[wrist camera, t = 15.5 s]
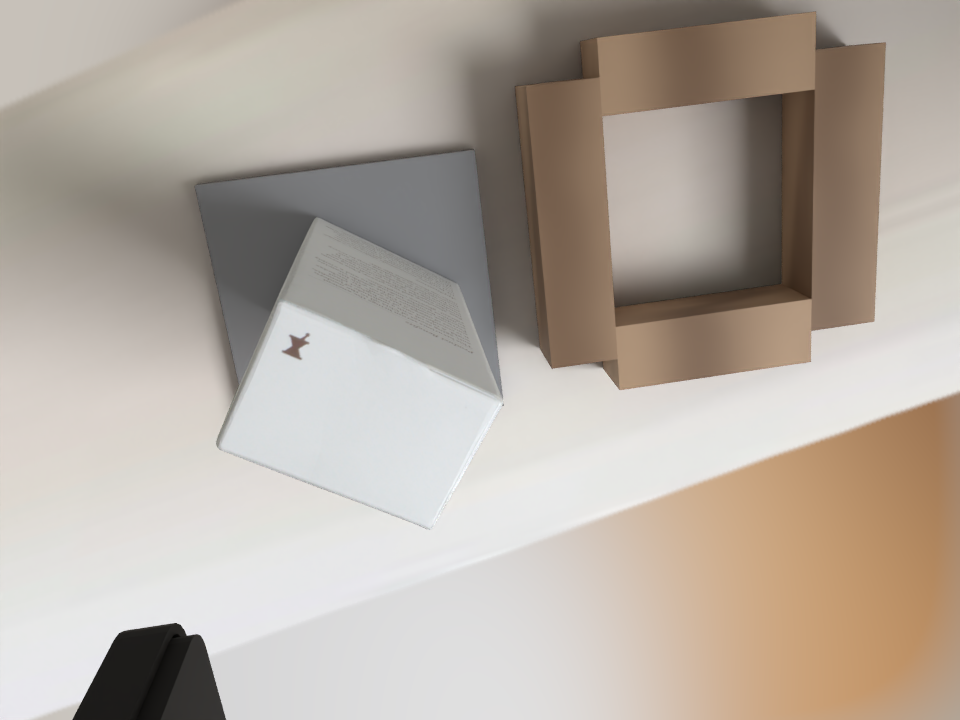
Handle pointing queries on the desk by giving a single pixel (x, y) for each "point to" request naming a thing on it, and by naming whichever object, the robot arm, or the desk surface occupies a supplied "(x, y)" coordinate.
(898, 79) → the desk surface
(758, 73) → the box
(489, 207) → the desk surface
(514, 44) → the desk surface
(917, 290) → the desk surface
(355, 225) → the grey rubber mat
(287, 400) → the skincare box
